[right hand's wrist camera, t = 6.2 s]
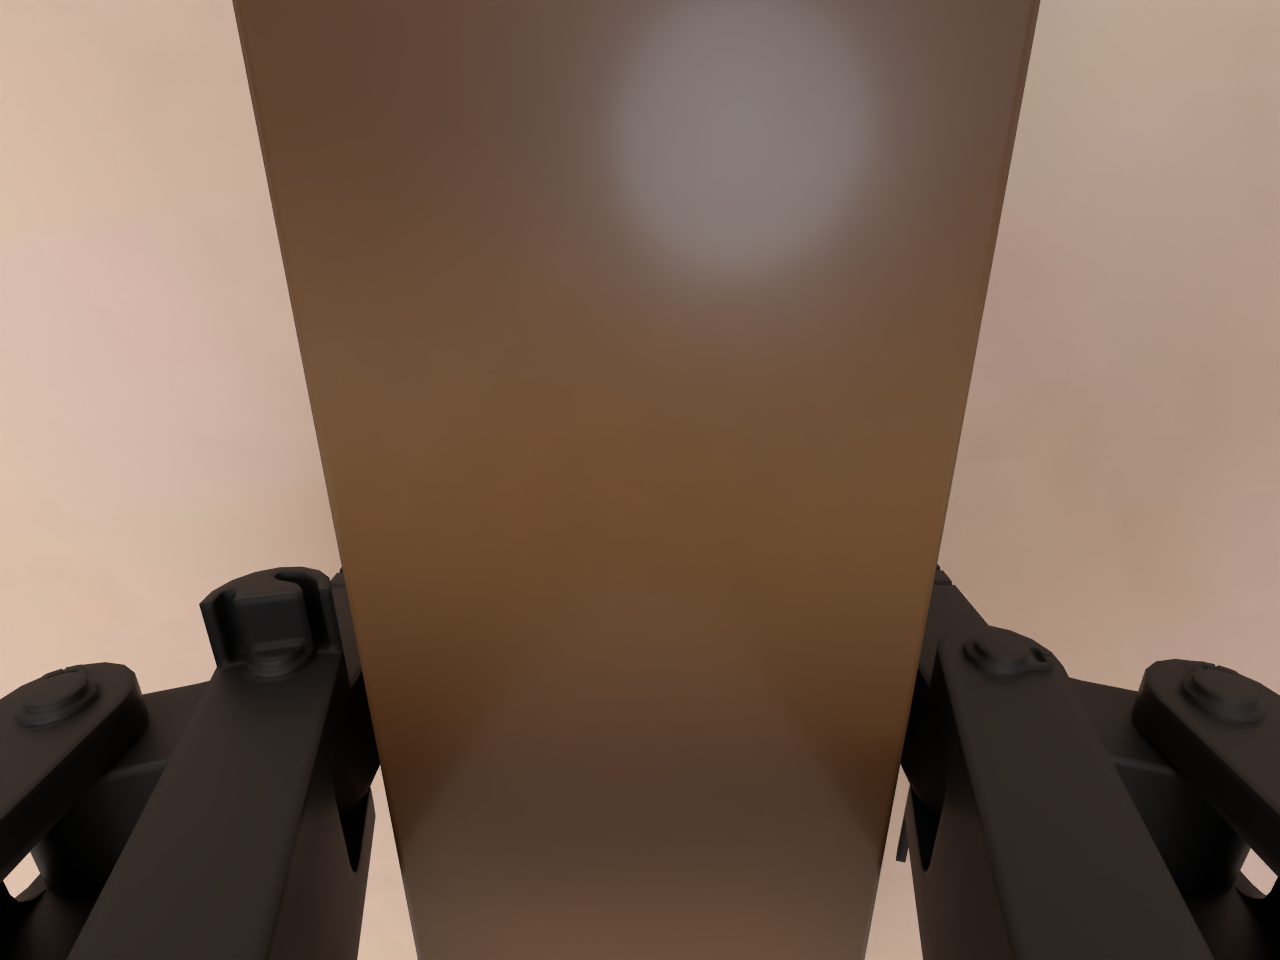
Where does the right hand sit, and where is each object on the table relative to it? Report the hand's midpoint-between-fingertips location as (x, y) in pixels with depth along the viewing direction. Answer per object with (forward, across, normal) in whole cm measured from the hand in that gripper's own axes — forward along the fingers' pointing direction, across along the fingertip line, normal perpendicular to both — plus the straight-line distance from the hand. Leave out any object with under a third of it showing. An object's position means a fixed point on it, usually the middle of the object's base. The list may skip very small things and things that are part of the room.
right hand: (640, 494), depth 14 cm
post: (+1, 0, -31) cm, 31 cm away
